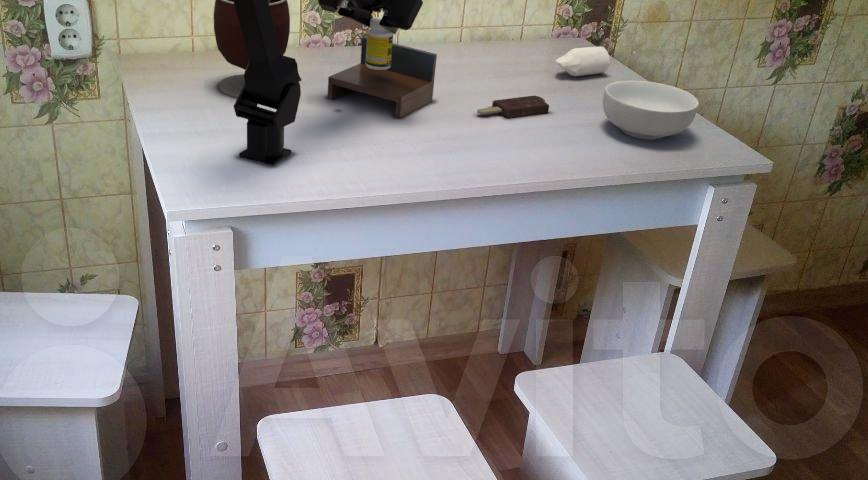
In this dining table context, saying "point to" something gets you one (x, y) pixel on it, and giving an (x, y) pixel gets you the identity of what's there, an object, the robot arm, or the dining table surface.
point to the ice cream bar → (517, 106)
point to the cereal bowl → (648, 108)
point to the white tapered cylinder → (585, 61)
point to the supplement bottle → (378, 46)
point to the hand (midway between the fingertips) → (384, 29)
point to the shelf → (391, 78)
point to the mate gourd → (233, 41)
